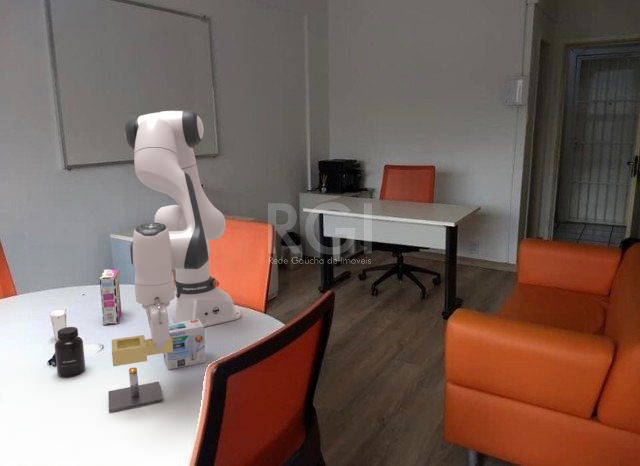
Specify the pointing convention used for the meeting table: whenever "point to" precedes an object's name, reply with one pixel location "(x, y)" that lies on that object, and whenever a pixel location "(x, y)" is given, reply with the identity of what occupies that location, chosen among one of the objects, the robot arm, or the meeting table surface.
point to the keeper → (134, 394)
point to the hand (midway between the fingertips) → (158, 346)
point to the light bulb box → (186, 344)
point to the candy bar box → (110, 296)
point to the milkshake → (58, 321)
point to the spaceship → (52, 360)
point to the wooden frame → (136, 349)
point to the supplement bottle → (69, 352)
